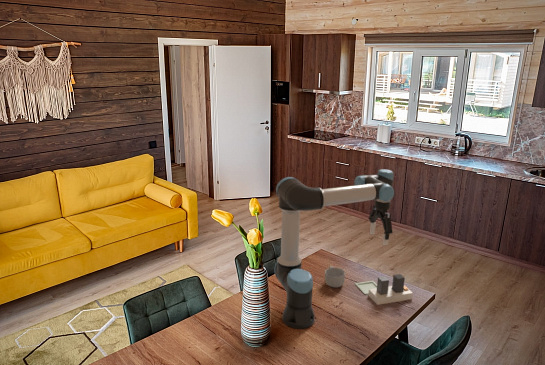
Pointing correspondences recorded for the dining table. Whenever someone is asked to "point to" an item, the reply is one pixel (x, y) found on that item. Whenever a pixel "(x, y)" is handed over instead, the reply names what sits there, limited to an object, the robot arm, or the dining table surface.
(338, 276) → the teacup
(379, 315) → the dining table surface
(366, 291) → the tray
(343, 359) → the dining table surface
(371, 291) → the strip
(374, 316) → the dining table surface
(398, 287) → the plug
